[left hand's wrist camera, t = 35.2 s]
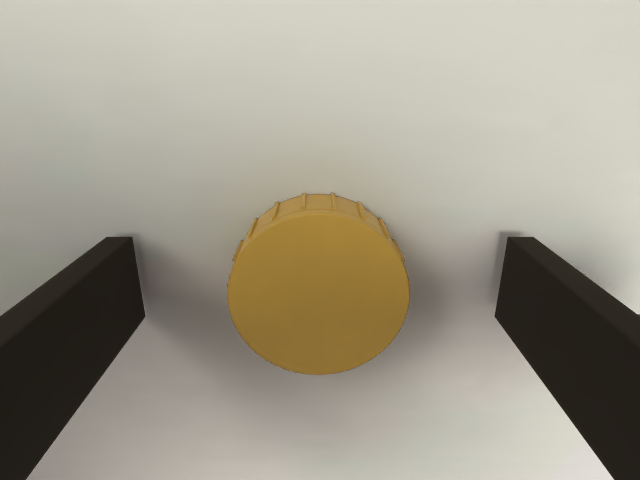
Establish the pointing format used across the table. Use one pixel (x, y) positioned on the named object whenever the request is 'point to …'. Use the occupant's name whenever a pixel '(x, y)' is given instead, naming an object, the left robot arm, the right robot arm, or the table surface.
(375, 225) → the lid
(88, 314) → the left robot arm
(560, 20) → the table surface
